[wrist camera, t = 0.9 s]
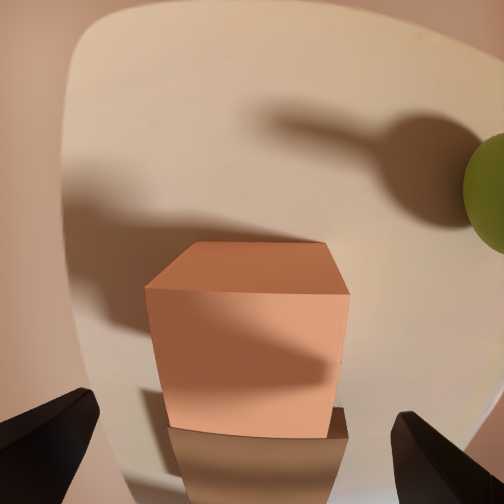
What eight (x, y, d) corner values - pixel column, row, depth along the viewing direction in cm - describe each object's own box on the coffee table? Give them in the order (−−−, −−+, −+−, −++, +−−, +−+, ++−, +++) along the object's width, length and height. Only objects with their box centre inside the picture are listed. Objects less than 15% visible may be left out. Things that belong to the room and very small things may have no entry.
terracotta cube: (317, 354, 16) (326, 437, 10) (204, 349, 16) (170, 426, 11) (325, 242, 14) (349, 294, 8) (196, 240, 15) (143, 287, 9)
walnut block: (321, 484, 20) (322, 513, 17) (199, 477, 21) (191, 504, 18) (342, 403, 17) (348, 438, 14) (181, 394, 18) (166, 427, 15)
